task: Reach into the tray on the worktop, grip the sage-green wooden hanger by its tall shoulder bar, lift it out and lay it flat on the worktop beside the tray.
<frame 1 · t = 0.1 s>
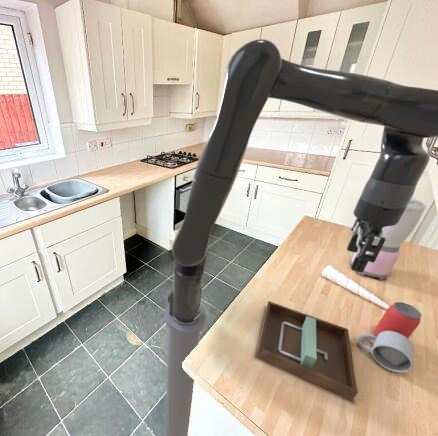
hand: (353, 260, 59), 29 cm above the counter, tool pointing down, fingers open, 8 cm apart
blender: (366, 267, 100), on the counter
unicorn horn: (354, 291, 89), on the counter
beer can: (387, 338, 72), on the counter
ceramic mug: (380, 355, 68), on the counter
hanger: (306, 346, 70), point 1 cm above the counter, touching tray
tray: (301, 346, 70), on the counter
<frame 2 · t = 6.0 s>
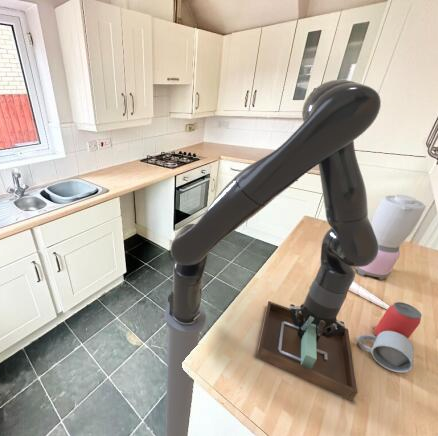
hand: (306, 338, 72), 1 cm above the counter, tool pointing down, fingers closed on hanger, 2 cm apart
hanger: (306, 346, 70), point 1 cm above the counter, touching tray, gripper
everything else where it was.
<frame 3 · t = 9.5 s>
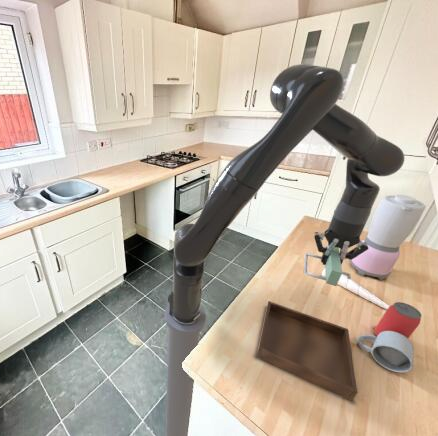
hand: (329, 264, 77), 17 cm above the counter, tool pointing down, fingers closed on hanger, 2 cm apart
hanger: (329, 270, 75), point 16 cm above the counter, touching gripper
everything else where it was.
when the fingers open (0 cm above the counter, at t = 13.3 s): hanger stays where it is, on the counter.
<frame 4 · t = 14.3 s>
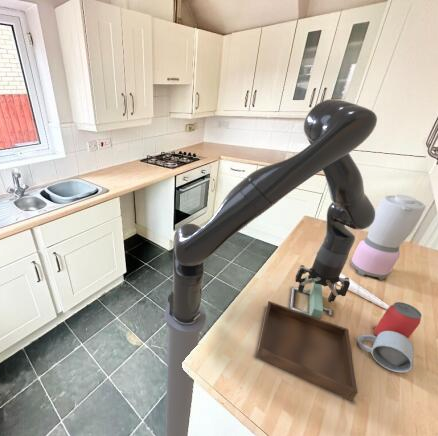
hand: (314, 296, 85), 2 cm above the counter, tool pointing down, fingers open, 8 cm apart
hanger: (313, 305, 83), on the counter
everything else where it was.
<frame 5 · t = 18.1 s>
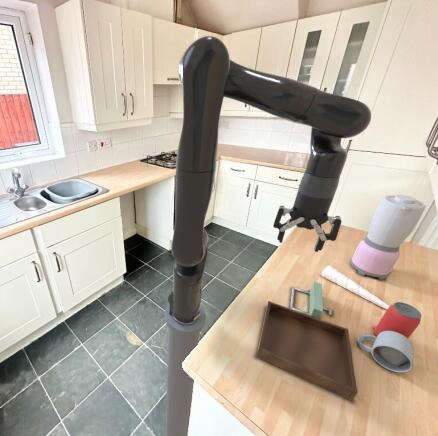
hand: (297, 245, 67), 28 cm above the counter, tool pointing down, fingers open, 8 cm apart
nothing on the counter moved.
at the end: hanger inside the target area (0.5 cm from its centre), on the counter; the gripper is holding nothing; hanger tilted 0° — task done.
